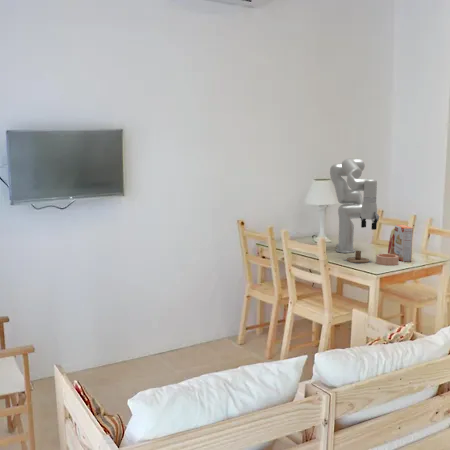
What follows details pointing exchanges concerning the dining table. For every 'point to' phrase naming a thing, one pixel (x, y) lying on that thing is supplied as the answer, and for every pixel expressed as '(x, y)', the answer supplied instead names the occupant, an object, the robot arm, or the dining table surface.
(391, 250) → the milk carton
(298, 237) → the dining table surface
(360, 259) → the lid
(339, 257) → the dining table surface
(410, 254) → the cracker box
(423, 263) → the dining table surface
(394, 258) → the bowl
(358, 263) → the mat
